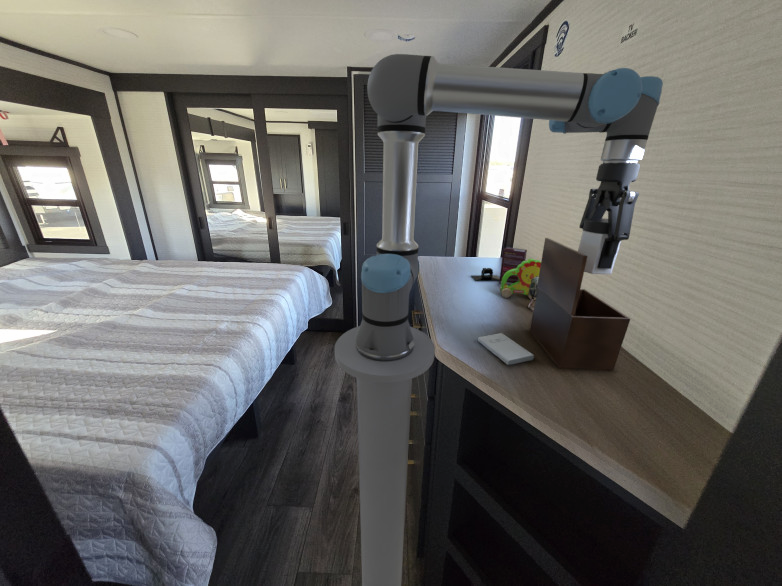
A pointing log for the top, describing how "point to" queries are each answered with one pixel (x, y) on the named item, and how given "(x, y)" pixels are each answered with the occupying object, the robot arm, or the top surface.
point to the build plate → (486, 276)
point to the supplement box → (511, 263)
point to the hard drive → (505, 349)
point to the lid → (561, 274)
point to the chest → (579, 332)
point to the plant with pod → (533, 291)
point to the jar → (594, 244)
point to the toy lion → (521, 278)
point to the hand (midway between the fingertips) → (593, 262)
